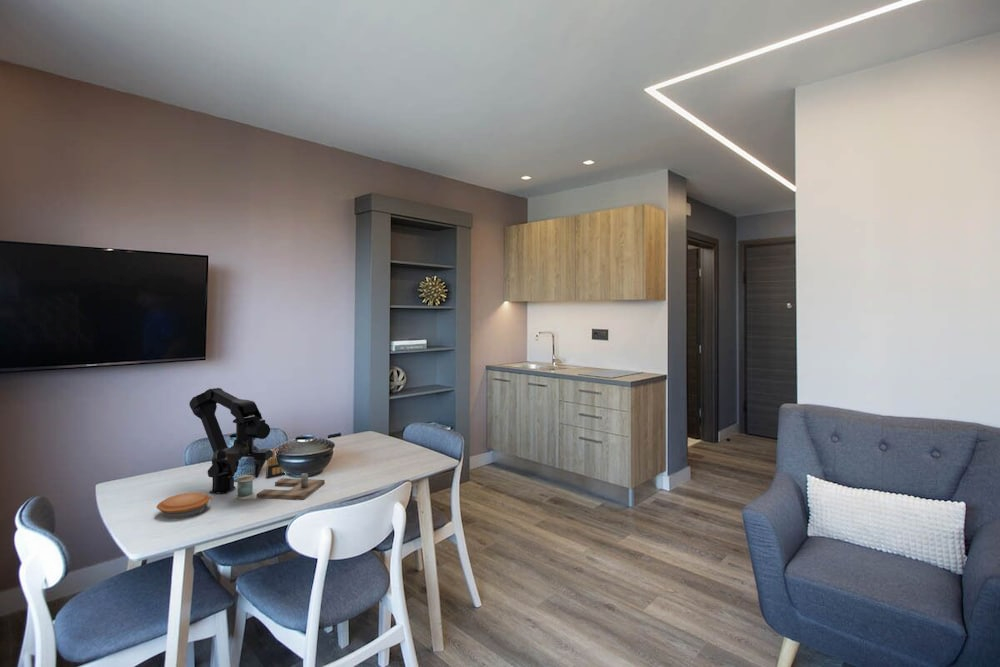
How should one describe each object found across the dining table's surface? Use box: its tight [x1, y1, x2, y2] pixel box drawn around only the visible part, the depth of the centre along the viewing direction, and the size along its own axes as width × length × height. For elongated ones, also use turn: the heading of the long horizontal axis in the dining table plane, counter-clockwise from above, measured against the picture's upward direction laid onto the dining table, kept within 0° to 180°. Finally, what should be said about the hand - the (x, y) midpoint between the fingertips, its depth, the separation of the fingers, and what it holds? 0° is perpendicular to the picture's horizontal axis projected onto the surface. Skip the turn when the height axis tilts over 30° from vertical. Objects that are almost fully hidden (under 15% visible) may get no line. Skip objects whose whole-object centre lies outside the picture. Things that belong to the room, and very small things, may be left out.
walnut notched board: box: [255, 472, 326, 501], centre depth 189 cm, size 18×18×6 cm
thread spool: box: [235, 474, 255, 500], centre depth 182 cm, size 6×6×7 cm
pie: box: [156, 492, 212, 519], centre depth 167 cm, size 15×16×5 cm
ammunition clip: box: [265, 445, 292, 479], centre depth 207 cm, size 11×2×12 cm, turn 136°
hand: (244, 477), depth 182 cm, fingers open, 9 cm apart
